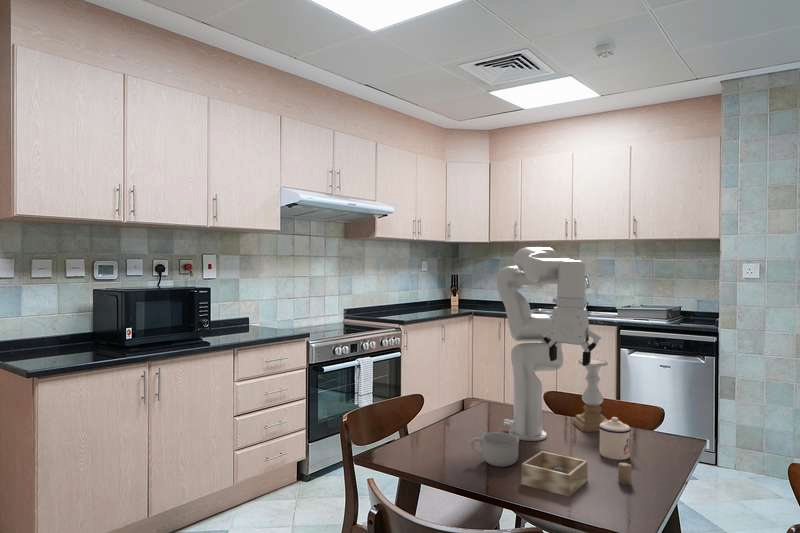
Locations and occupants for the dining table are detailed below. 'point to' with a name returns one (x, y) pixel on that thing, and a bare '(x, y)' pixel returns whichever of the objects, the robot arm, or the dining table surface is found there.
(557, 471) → the ball
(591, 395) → the candle holder
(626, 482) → the lid
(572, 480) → the box
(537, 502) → the dining table surface
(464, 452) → the dining table surface
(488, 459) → the teacup
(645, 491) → the dining table surface
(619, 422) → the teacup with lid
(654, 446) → the dining table surface
